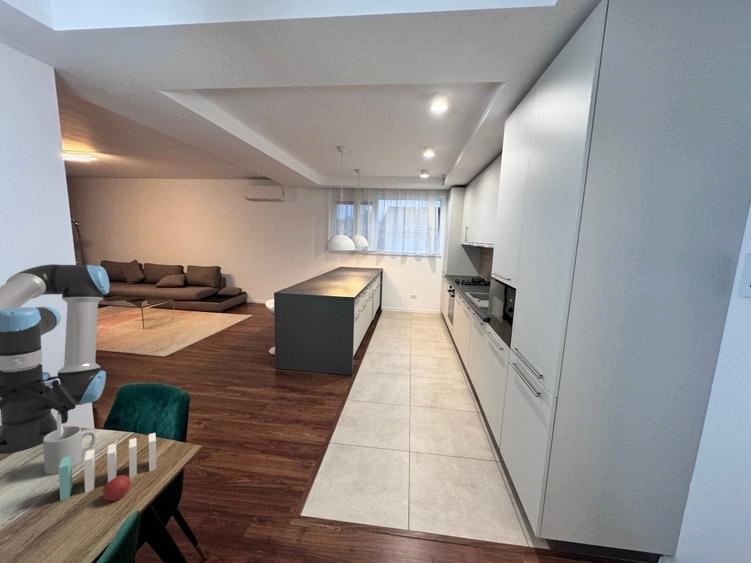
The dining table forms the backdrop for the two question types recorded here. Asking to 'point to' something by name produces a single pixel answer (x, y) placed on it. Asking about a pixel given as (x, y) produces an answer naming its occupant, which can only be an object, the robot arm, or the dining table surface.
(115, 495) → the fruit
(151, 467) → the domino
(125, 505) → the dining table surface
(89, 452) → the domino
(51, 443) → the mug
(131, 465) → the domino
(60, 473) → the domino
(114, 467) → the domino
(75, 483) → the dining table surface
